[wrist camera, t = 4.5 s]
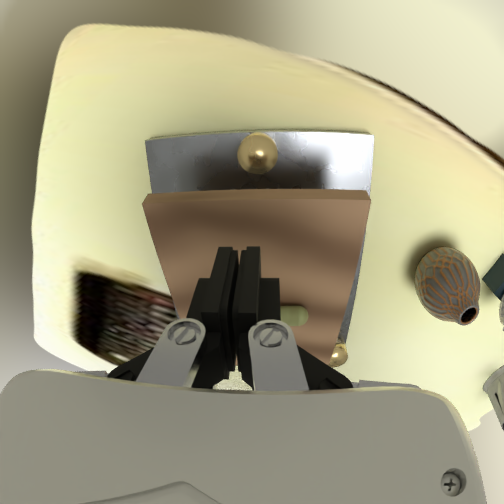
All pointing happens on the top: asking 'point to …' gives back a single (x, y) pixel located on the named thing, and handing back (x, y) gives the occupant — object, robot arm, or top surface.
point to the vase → (448, 285)
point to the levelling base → (286, 174)
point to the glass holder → (496, 393)
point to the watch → (497, 283)
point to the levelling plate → (268, 248)
